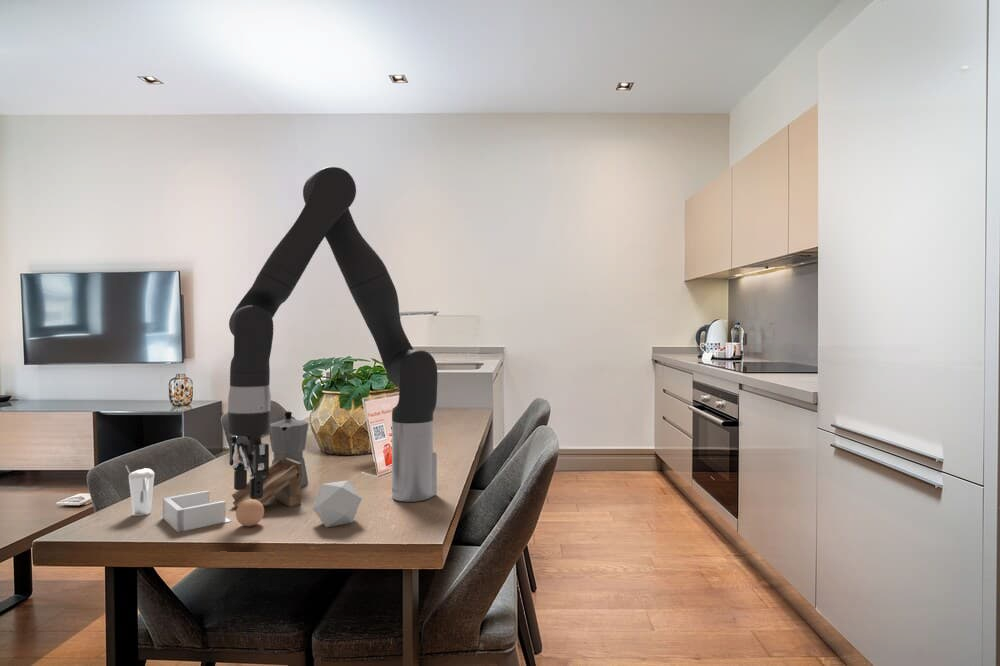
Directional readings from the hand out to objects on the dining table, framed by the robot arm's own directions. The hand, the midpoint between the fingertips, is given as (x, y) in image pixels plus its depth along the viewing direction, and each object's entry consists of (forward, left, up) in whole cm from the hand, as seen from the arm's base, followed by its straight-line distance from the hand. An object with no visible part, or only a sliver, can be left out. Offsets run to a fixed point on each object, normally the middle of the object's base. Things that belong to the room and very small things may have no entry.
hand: (247, 493), depth 110 cm
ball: (0, 0, -4) cm, 4 cm away
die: (-13, +10, -6) cm, 18 cm away
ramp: (-7, -11, -6) cm, 15 cm away
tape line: (+2, -11, -6) cm, 13 cm away
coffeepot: (-18, -25, -6) cm, 32 cm away
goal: (+7, -11, -6) cm, 14 cm away
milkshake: (+14, -23, -6) cm, 27 cm away
